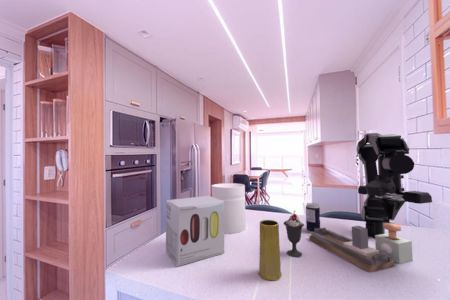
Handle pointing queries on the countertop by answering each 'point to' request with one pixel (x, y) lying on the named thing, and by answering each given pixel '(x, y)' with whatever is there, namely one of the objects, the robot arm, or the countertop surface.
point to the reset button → (392, 230)
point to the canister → (231, 205)
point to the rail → (350, 251)
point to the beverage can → (312, 216)
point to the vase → (269, 250)
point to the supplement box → (194, 229)
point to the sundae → (294, 234)
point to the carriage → (360, 242)
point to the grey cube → (394, 248)
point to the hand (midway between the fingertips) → (391, 219)
